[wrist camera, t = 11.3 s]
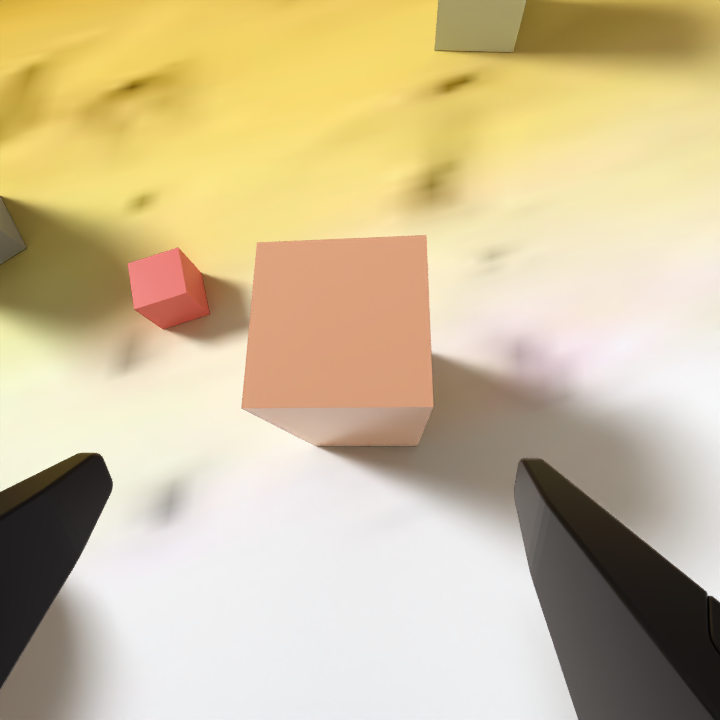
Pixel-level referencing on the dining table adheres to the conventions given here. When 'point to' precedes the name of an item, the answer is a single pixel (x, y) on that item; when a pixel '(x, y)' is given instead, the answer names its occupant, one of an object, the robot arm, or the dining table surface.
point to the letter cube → (168, 289)
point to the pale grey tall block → (478, 25)
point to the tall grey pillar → (8, 235)
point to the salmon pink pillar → (341, 340)
